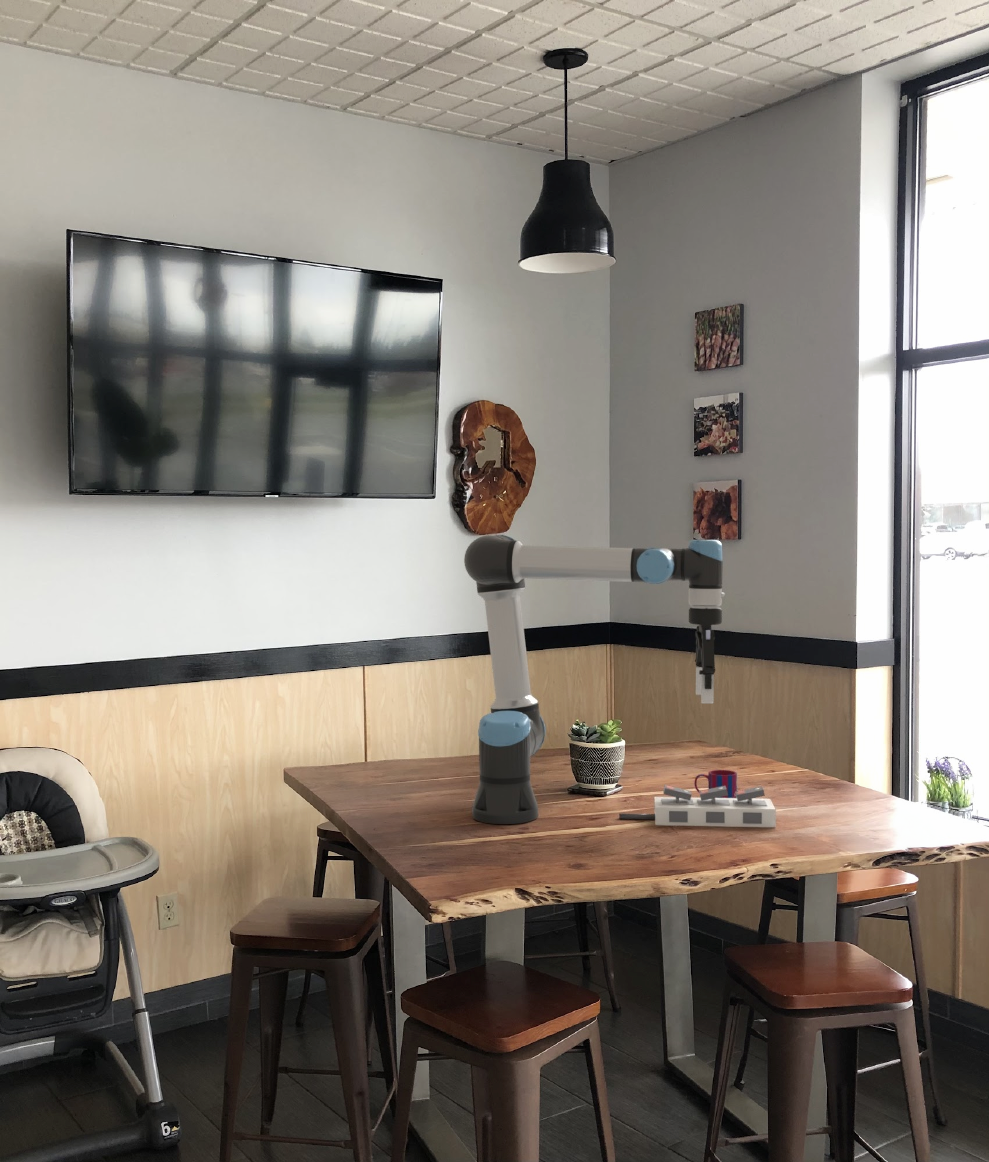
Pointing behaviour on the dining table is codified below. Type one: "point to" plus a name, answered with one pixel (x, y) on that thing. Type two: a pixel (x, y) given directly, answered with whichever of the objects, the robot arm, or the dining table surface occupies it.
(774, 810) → the strip
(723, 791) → the rocker mid
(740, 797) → the rocker right
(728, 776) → the mug
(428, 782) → the dining table surface
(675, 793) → the rocker left
